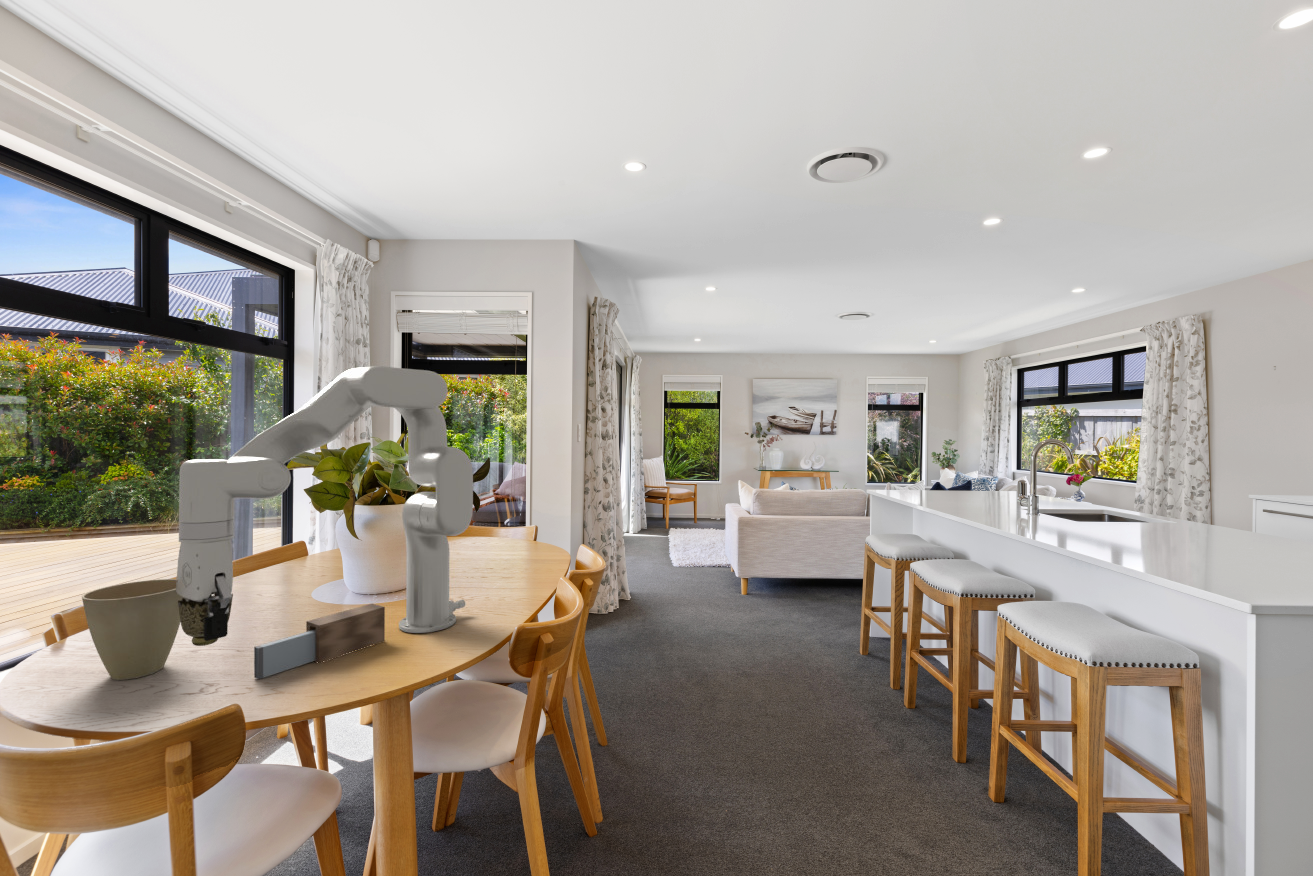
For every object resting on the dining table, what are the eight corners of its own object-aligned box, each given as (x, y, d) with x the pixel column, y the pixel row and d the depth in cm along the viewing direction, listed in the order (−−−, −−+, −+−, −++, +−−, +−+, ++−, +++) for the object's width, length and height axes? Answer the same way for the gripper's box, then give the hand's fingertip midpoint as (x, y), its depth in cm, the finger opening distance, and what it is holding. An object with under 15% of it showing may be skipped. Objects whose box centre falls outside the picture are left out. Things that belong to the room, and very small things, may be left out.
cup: (201, 653, 93) (202, 604, 93) (165, 649, 94) (166, 601, 94) (243, 637, 100) (243, 592, 100) (209, 634, 101) (209, 589, 101)
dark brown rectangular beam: (372, 637, 126) (372, 603, 126) (384, 641, 123) (384, 606, 123) (306, 658, 114) (306, 621, 114) (318, 663, 111) (318, 625, 111)
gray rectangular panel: (330, 652, 116) (330, 624, 116) (334, 653, 115) (334, 626, 115) (254, 677, 104) (254, 646, 104) (258, 679, 103) (258, 648, 103)
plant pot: (208, 660, 113) (208, 580, 112) (122, 693, 98) (122, 602, 98) (150, 653, 116) (150, 576, 116) (60, 684, 102) (59, 596, 101)
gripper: (159, 528, 98) (157, 631, 98) (203, 539, 89) (201, 651, 89) (210, 523, 105) (209, 619, 105) (256, 532, 96) (254, 637, 96)
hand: (205, 633), depth 97 cm, fingers closed on cup, 6 cm apart
